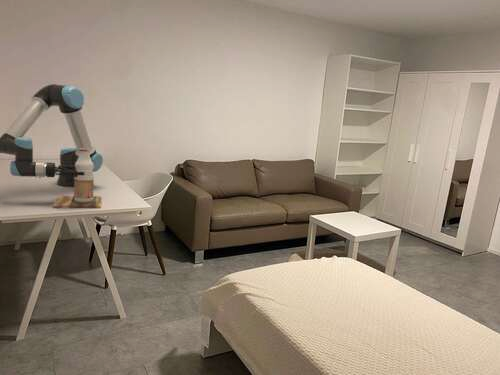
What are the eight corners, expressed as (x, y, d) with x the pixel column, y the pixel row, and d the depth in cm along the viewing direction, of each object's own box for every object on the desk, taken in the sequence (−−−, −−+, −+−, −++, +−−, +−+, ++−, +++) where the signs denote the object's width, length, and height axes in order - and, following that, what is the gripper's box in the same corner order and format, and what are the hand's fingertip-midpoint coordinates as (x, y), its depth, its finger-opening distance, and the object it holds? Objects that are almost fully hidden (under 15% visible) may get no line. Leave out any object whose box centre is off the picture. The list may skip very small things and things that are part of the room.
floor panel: (53, 208, 189) (53, 205, 189) (58, 197, 208) (58, 195, 207) (100, 208, 197) (100, 205, 197) (101, 198, 216) (101, 196, 215)
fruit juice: (78, 203, 197) (78, 150, 191) (71, 199, 203) (71, 147, 198) (96, 201, 203) (97, 150, 198) (89, 198, 210) (90, 147, 204)
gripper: (49, 172, 205) (92, 173, 213) (42, 181, 183) (90, 183, 191) (49, 158, 204) (92, 160, 211) (42, 166, 182) (91, 168, 189)
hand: (91, 171), depth 201 cm, fingers open, 12 cm apart
